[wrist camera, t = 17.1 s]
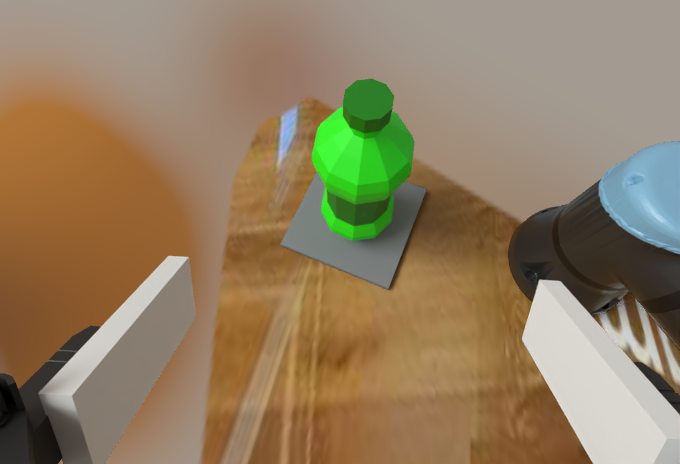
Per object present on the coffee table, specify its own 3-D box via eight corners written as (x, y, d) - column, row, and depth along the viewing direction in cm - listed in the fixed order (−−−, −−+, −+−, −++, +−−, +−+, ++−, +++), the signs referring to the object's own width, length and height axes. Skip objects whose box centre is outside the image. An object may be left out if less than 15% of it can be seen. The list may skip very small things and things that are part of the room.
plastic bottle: (315, 246, 55) (297, 144, 31) (327, 179, 58) (319, 43, 35) (387, 256, 54) (423, 161, 31) (395, 188, 58) (433, 57, 34)
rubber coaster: (425, 191, 58) (426, 189, 58) (387, 289, 53) (388, 288, 52) (326, 155, 61) (326, 152, 60) (281, 246, 55) (280, 244, 55)
